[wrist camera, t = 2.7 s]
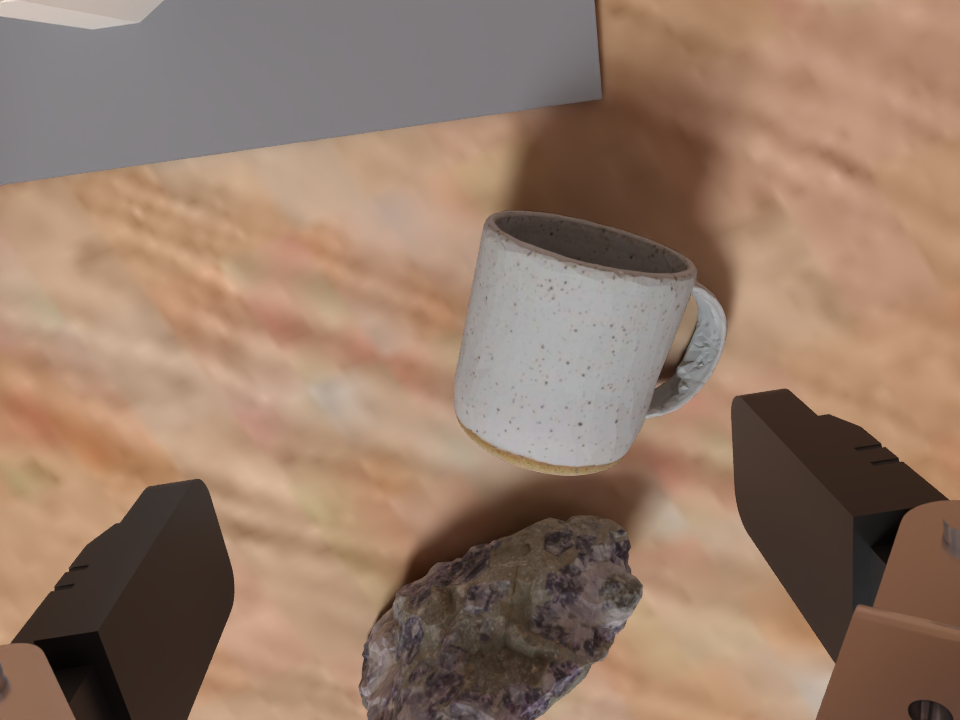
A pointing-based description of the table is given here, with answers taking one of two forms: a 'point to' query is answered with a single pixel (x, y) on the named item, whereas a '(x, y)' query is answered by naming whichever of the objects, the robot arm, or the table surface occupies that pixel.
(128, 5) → the cover cup
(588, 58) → the mat
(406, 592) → the mineral rock
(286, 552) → the table surface
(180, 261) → the table surface
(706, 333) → the ceramic mug
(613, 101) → the table surface
